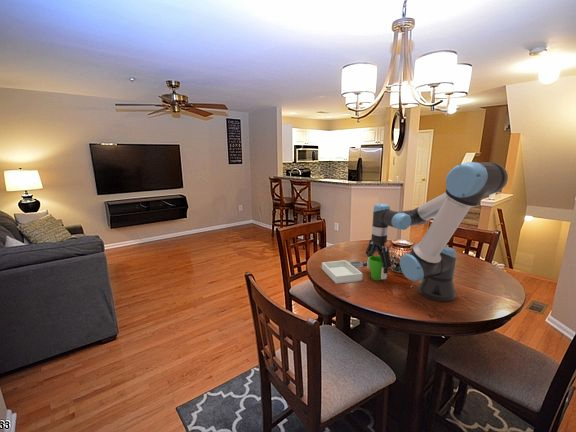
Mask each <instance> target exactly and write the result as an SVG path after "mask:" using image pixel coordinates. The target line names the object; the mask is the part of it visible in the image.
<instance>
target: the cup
mask: <svg viewBox="0 0 576 432" xmlns="http://www.w3.org/2000/svg"><path fill="white" fill-rule="evenodd" d="M369 260H370V268H369V270H370V277H371V279H372V280H373V281H381V280H382V279H381V273H382V266H383V264H382V261H381V258H380V255H373V256H370V257H369Z"/></svg>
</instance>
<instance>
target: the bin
mask: <svg viewBox="0 0 576 432" xmlns="http://www.w3.org/2000/svg"><path fill="white" fill-rule="evenodd" d="M321 270H322V271H323V272H324V273H325V274H326V275H327V276H328V277H329V279H330V280H331V281H332V282H333V283H334V284H335V285H339V284H347V283H353V282H354V283H355V282H362V281H363V275H364V274H363V272H361V271H360V270H359V269H358V268H355V267H354V266H352V265H351V264H350V261H348V260H345V259H343V260H334V261H333V260H332V261H326V262H325V261H324V262H321Z"/></svg>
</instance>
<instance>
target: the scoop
mask: <svg viewBox="0 0 576 432" xmlns="http://www.w3.org/2000/svg"><path fill="white" fill-rule="evenodd" d="M367 262H368V261H364V262H362V261H361V260H353V261H349V263H350V264H351V265H352V266H354V267H355V268H356V269H359V268H360V269H361V268H364V266H367Z"/></svg>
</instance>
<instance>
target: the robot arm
mask: <svg viewBox="0 0 576 432" xmlns="http://www.w3.org/2000/svg"><path fill="white" fill-rule="evenodd" d="M508 180H509V174H508V171H507V170H506V168H505V167H504V166H502V165H501V164H499V163H497V162H494V161H493V162H492V161H485V162H483V161H482V162H476V161H469V162H463V163H460V164H458V165H455V166H454V167H452V169H450V171H449V172H448V173H447V175H446V178H445V184H446V185H445V188H446V189H445V191H444V193H442V194H440V195H438V196H436V197H435V198H433V199H431V200H429V201H427V202H425V203H423V204H421V205H420V206H418V207H416V208H413V209H409V210H401V211H400V210H399V211H395V210H392V209H391V208H390V205H389V204H388V203H375V204H374V206H373V210H372V211H373V212H372V224H371V225H372V227H371V239H369V243H368V244H367V248H366V251H365V252H364V253H365V255H366V256H367V261H366V262H367V265H366V266H367V267H366V268H367V269H368V270H370V260H369V257H370V256H374V254H375V253H378V256H380V258H381V261H382V264H383V266H382V273H381V280H387V277H388V271H389V268H391V267H392V263H391V262H392V261H391V257H390V252H389V246H385V244H386V243H387V242H388V229H389V227H391V228H394V229H396V230H402V231H405V230H408V228H409V227H412V226H417V225H418V226H420V225H425V224H427V223H428V221H429V220H431V219H433V220H432V221H431V223H430V225H429V227H428V228H427V230H426V232H425V234H423V236H422V239H421V240H420V241H419V243H415V244H414V245H413V246H412V248H411V250H410V251H409V253H405V254H403V255H402V256H401V257H400V259H399V267H400V270H401V272H402V274H403V276H405V278H406V279H408V280H411V281H413V282H414V281H415V282H416V281H421V283H420V284H419V285H418V286H419V287H418V292H419V294H421V295H422V296H424V297H425V298H426V299H428V300H429V299H430V300H433V301H438V302H452V301H454V300H455V299H456V295H457V294H456V290H455V285H454V284H455V283H454V274H455V267H456V261H457V260H456V259H457V252H456V251H457V250H456V249H454V248H453V247H449V246H447V244H448V243H449V241H450V240H451V238H452V237H453V235H454V234H455V232H456V231H457V229H458V227H459V226H460V225H461V223H462V221H463V220H464V219H465V217H466V216H467V214H468V212H470V209H472V208H476V207H478V205H480V203H481V202H482V200H483V198H486V197H489V196H491V195H493V194H497V193H499V192H500V191H502V190H503V189H504V188H505V187H506V185H507V183H508Z"/></svg>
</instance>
